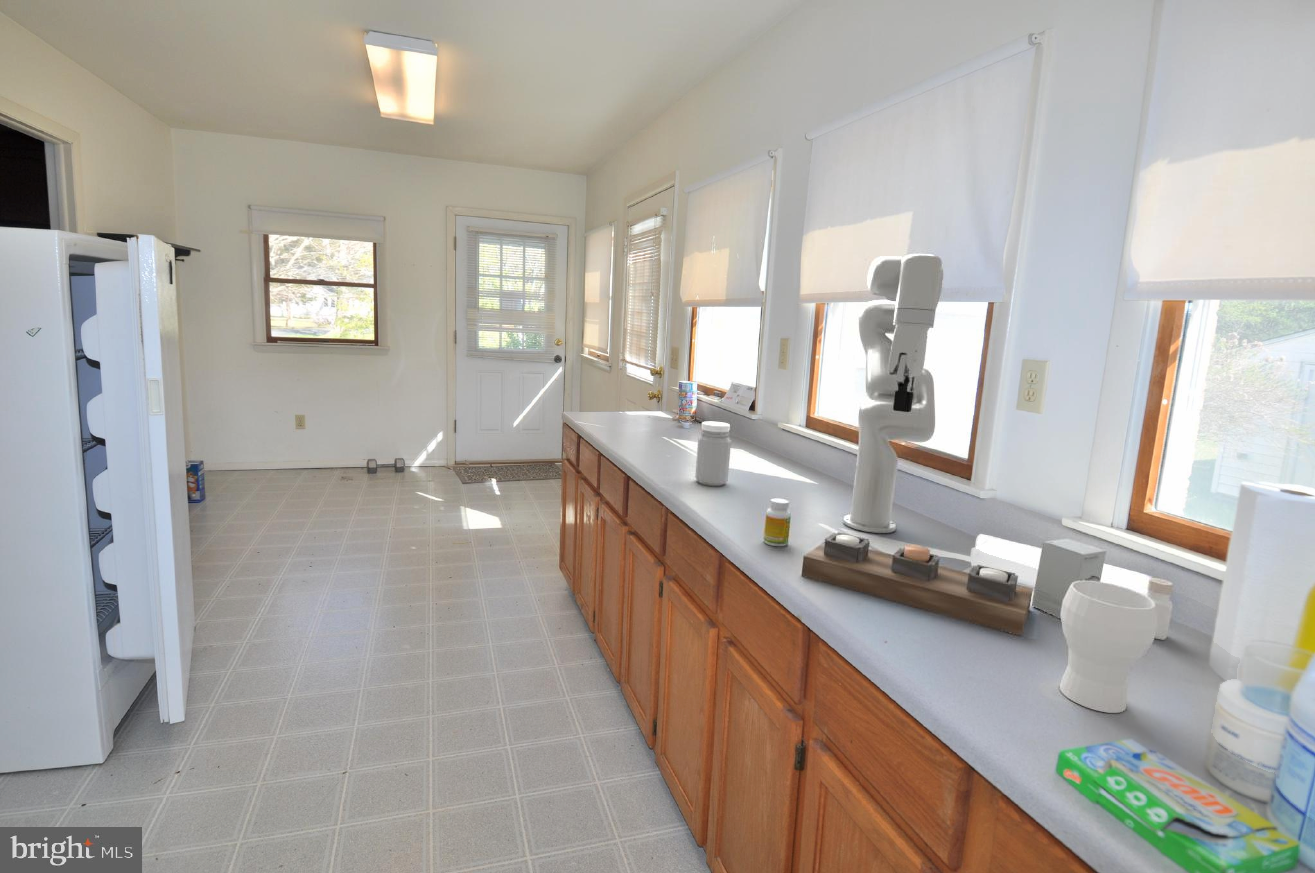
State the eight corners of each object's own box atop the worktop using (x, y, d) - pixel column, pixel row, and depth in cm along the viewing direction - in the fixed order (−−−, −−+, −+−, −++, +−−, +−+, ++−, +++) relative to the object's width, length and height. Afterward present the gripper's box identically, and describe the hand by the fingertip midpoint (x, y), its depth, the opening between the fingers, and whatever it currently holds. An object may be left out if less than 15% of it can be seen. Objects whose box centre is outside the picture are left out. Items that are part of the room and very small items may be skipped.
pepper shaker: (1166, 642, 112) (1177, 588, 110) (1136, 634, 114) (1147, 581, 112) (1163, 633, 115) (1174, 580, 113) (1135, 626, 117) (1145, 574, 115)
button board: (826, 557, 142) (829, 525, 141) (1029, 609, 121) (1035, 572, 120) (801, 575, 130) (805, 541, 129) (1021, 636, 110) (1028, 595, 109)
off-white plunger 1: (838, 547, 135) (840, 533, 134) (860, 552, 133) (862, 538, 132) (831, 552, 131) (833, 538, 131) (853, 558, 129) (855, 543, 128)
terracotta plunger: (906, 558, 128) (908, 543, 127) (930, 563, 125) (932, 548, 125) (900, 564, 124) (902, 548, 124) (925, 570, 122) (927, 554, 121)
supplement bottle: (787, 548, 146) (792, 505, 144) (762, 545, 147) (766, 502, 145) (788, 540, 151) (792, 499, 149) (763, 537, 152) (768, 496, 150)
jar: (693, 484, 198) (697, 424, 195) (696, 477, 207) (701, 419, 204) (726, 488, 196) (731, 427, 193) (728, 480, 206) (733, 422, 203)
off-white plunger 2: (979, 581, 121) (982, 566, 121) (1006, 588, 119) (1009, 572, 118) (975, 589, 117) (978, 572, 117) (1003, 596, 115) (1006, 579, 115)
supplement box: (1070, 623, 116) (1083, 554, 114) (1029, 606, 123) (1041, 540, 121) (1095, 617, 120) (1108, 550, 118) (1054, 601, 126) (1066, 536, 124)
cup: (1124, 687, 95) (1144, 587, 93) (1151, 728, 85) (1174, 617, 83) (1040, 670, 99) (1057, 573, 96) (1057, 707, 89) (1076, 600, 86)
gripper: (903, 319, 141) (892, 406, 144) (884, 316, 129) (872, 411, 132) (941, 321, 137) (929, 410, 140) (925, 318, 125) (912, 416, 128)
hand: (901, 410), depth 136 cm, fingers closed
